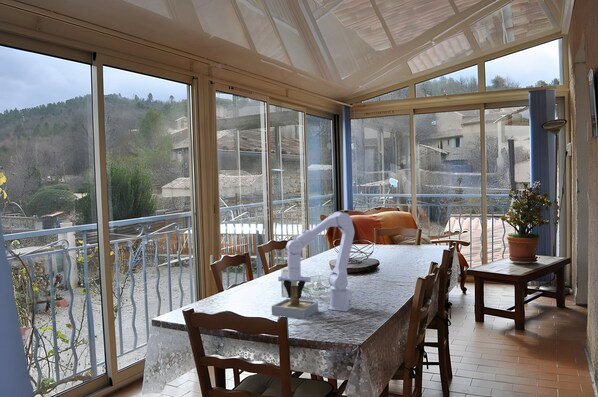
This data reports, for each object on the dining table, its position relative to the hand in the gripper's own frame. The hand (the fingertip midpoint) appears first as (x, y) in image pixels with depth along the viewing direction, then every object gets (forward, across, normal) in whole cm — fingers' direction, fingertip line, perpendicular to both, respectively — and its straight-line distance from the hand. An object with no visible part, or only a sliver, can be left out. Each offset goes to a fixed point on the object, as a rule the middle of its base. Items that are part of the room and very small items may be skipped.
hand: (294, 297), depth 222 cm
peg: (+3, 0, 0) cm, 3 cm away
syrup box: (+7, +11, -29) cm, 32 cm away
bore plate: (+7, 0, 0) cm, 7 cm away
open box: (+7, 0, 0) cm, 7 cm away
